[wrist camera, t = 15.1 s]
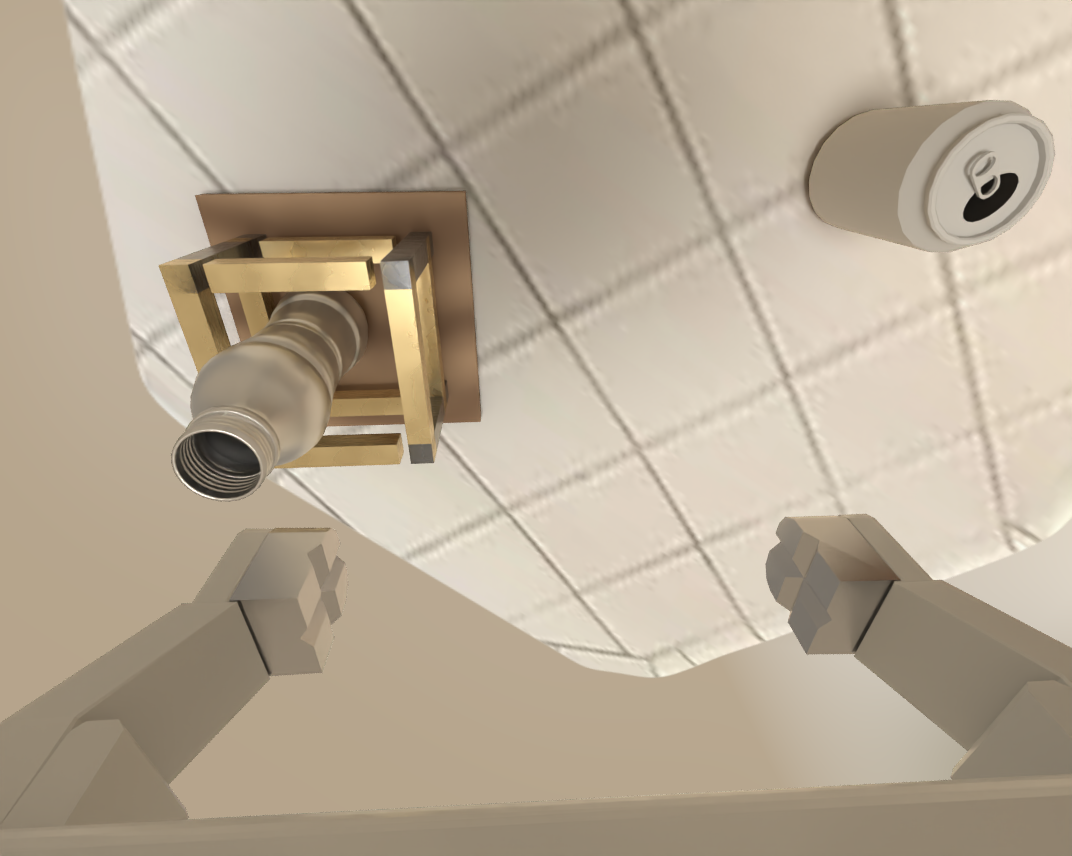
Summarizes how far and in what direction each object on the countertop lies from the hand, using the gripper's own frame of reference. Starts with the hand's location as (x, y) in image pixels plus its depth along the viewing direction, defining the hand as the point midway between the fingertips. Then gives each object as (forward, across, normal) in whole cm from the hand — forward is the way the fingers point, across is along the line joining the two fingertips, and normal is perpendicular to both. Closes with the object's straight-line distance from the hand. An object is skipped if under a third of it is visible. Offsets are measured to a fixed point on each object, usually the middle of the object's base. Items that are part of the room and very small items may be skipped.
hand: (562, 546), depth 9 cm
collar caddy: (+31, +13, +6) cm, 34 cm away
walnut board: (+32, +13, +7) cm, 35 cm away
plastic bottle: (+31, +15, +6) cm, 35 cm away
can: (+33, -24, -4) cm, 41 cm away
